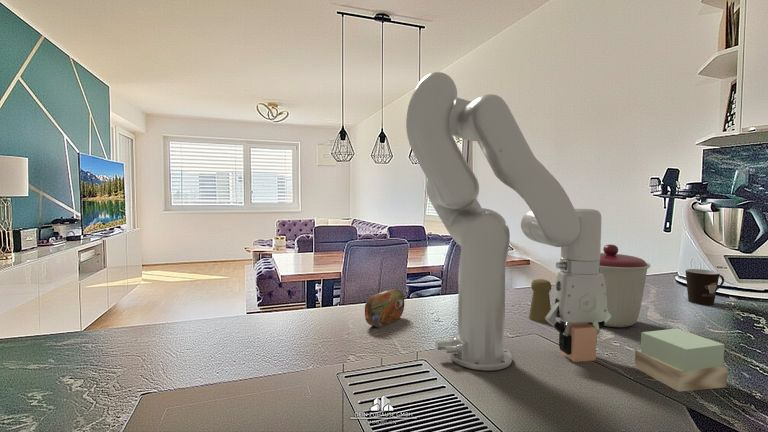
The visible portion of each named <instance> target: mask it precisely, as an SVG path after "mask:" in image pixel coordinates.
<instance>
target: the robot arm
mask: <svg viewBox="0 0 768 432" xmlns="http://www.w3.org/2000/svg"><path fill="white" fill-rule="evenodd" d="M405 121H406V122H405V126H406V135H407V139H408V143H409V146H410V148H411V151H412V153H413V155H414V157H415V159H416V161H417V162H418V164H419V166H420V168H421V170H422V172H423V175H425V177H426V179H427V181H426V194H427V196H428V199H429V201H430V203H431V206H432V207H433V209H434V211H435V212H436V214H437V216H438V217H439V219H440V220H441V223H442V224H443V225H444V227H445V229H446V231H447V232H448V234H449V235H450V237H451V239H452V240H453V241H454V242H455V243H456V244H458V245H459V246H460V255H459V263H458V274H457V275H458V276H457V277H458V283H457V284H458V299H457V300H458V302H457V303H458V306H457V307H458V308H457V312H458V313H457V317H458V318H457V333H453V338H449V339H448V340H435V344H434V345H435V349H436V351H444V352H445V354H450V358H451V360H452V361H453V362H454V363H456V364H457V365H459V366H462V367H464V368H467V369H471V370H477V371H490V372H491V371H499V370H502V369H506V368H507V367H510V365H511V364H512V362H513V356H512V354H511V352H510V351H509V350H507V349H505V333H506V331H505V330H506V328H505V325H506V324H505V322H506V321H505V320H506V319H505V318H506V270H507V261H508V254H509V249H510V248H509V247H510V241H511V240H510V237H511V233H510V227H509V224H508V223H507V221H506V219H505V218H504V217H503V216H502V215H501V214H500V213H498V212H497V211H495V210H493V209H489V208H483V207H482V206H481V204H480V202H479V201H478V199H477V198H478V196H479V192H480V183H479V181H478V178H477V177H476V174H475V173H474V172H473V170H472V169H471V167H470V165H469V163H468V161H467V160H466V158H465V156H464V155H463V153H462V151H461V150H460V148H459V146H458V144H457V142H456V140H455V138H454V137H456V138H459V139H462V140H466V141H472V142H477V144H478V146H479V147H480V149H481V152H482V153H483V156H484V157H485V159H486V160H487V162H488V164H489V166H490V168H491V171H492V172H493V174H494V176H495V177H496V178H497V179H498V180H499V181H501V182H502V183H503V184H504V185H506V186H507V187H509V188H511V190H513V191H515V193H516V194H517V195H519V196H520V198H521V199H523V201H524V202H525V204H526V205H527V206H528V207H529V210H528V211H527V212H526V213H525V214H524V215H523V216H522V217H521V221H520V229H521V232H522V233H523V235H524V236H525V237H526V238H528V239H529V240H531V241H533V242H537V243H539V244H543V245H548V246H551V247H555V248H560V259H559V261H558V262H556V263H555V267H556V269H559V272H557V275H556V279H555V283H554V287H553V288H554V290H553V297H552V298H553V299H552V307H551V310H550V312H549V313H548V314H547V316H546V317H545V319H546V320H547V321H548V322H547V323H549V324H550V325H551V326H553V328H554V329H555V330H556V331H557V332H558V335H559V336H558V347H559V351H560V350H561V351H563V352H564V353H566V354H568V355H569V354H571V336H570V335H569V333H570V330H571V326H572V323H589V324H591V325H593V326H595V327H597V335H599V334H600V332H601V330H602V328H603V327H605V326H604V324H605V323H606V322H607V321H608V320H609V319H610V318H611V315H610V313H609V312H608V310H607V292H606V285H605V280H604V276H603V274H600V253H601V251H602V250H601V249H602V248H601V247H602V241H601V240H602V214H601V212H600V211H599V210H597V209H594V208H575V207H574V205H573V203H572V201H571V199H570V197H569V195H568V194H567V192H566V190H565V189H564V187H563V186H562V185H561V183H560V182H559V181H558V180H557V178H555V176H554V175H553V174H552V173H551V172H550V171H549V169H547V168H546V167H545V166H544V164H543V163H542V162H541V161H539V160H538V159H537V158H536V156H535V155H534V153H533V151H532V149H531V148H530V146H529V144H528V142H527V140H526V138H525V136H524V135H523V132H522V129H521V128H520V127H519V124H518V122H517V121H516V119H515V117H514V115H513V113H512V111H511V109H510V108H509V106H508V104H507V103H506V101H505V100H504V99H503V97H501V96H500V95H497V94H491V93H490V94H485V95H482V96H479V97H477V98H475V99H474V100H472V101H471V100H468V99H463V98H461V97H459V96H458V88H457V86H456V83H455V81H454V79H452V77H451V76H450V75H448V74H447V73H444V72H443V71H442V72H440V71H435V72H431V73H428V74H427V75H425V76H424V77H423V78H422V79H421V80H420V81H419V82H418V84H417V85H416V87H415V89H414V90H413V93H412V95H411V97H410V100H409V103H408V107H407V110H406V119H405ZM557 318H558V319H559V320H557ZM564 325H565V326H564ZM597 337H598V336H596V344H597V343H598V342H597Z"/></svg>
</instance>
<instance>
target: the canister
mask: <svg viewBox="0 0 768 432" xmlns="http://www.w3.org/2000/svg"><path fill="white" fill-rule="evenodd" d="M602 248H603V249H602V250H603V252H600V274H603V276H604V280H605V285H606V292H607V310H608V312H609V313H610V315H611V318H610V319H609V320H608V321H607V322H606V323H605V324H604V326H603V327H610V328H611V327H612V328H628V327H631V326H633V325H635V324H636V323H637V321H638V320H639V316H640V313H641V306H642V303H643V297H644V292H645V285H646V279H647V273H648V269H649V268H651V263H648V262H646V261H645V260H644V259H643V258H640V257H637V256H633V255H627V254H620V253H618V252H619V247H618V246H617V245H615V244H612V243H611V244H606V245H604V247H602Z"/></svg>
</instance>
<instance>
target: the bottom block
mask: <svg viewBox="0 0 768 432" xmlns="http://www.w3.org/2000/svg"><path fill="white" fill-rule="evenodd" d="M634 354H635V355H634V357H635V358H634V369H637V370H639V371H640V372H642V373H644V374H645V375H648V376H649V377H650V378H651V377H652V378H653V379H654V380H657V381H659V382H661V383H662V384H665V385H666V386H668V387H669V388H671V389H673V390H675V391H677V392H687V391H689V392H690V391H698V390H699V391H700V390H709V389H722V388H727V385H728V367H727V366H725V365H723V366H720V367H713V368H707V369H700V370H693V371H687V372H684V371H682V370H680V369H678V368H675V367H673V366H671V365H668V364H666V363H664V362H662V361H659V360H657V359H655V358H652V357H650V356H648V355H646V354H643V353H641V349H635V353H634Z"/></svg>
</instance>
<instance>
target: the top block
mask: <svg viewBox="0 0 768 432" xmlns="http://www.w3.org/2000/svg"><path fill="white" fill-rule="evenodd" d="M640 333H641V334H640V350H641V353H643V354H646V355H648V356H650V357H652V358H655V359H657V360H659V361H662V362H664V363H666V364H668V365H671V366H673V367H675V368H678V369H680V370H682V371H684V372H687V371H693V370H700V369H707V368H713V367H720V366H724V363H725V362H724V358H725V344H724V343H721V342H718V341H716V340H713V339H709V338H707V337H703V336H700V335H697V334H695V333H692V332H689V331H685V330H683V329H679V328H669V329H668V328H667V329H660V330H651V331H642V332H640Z"/></svg>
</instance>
